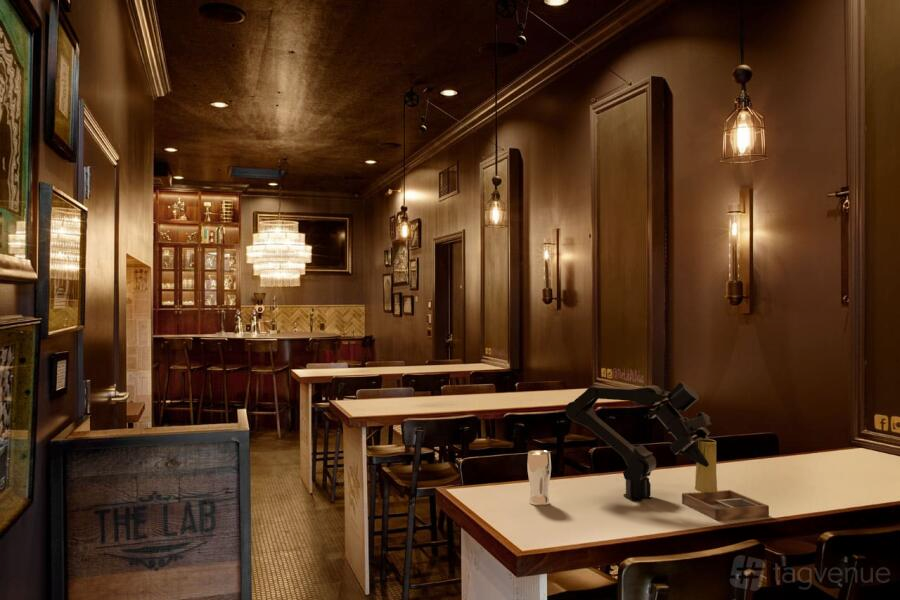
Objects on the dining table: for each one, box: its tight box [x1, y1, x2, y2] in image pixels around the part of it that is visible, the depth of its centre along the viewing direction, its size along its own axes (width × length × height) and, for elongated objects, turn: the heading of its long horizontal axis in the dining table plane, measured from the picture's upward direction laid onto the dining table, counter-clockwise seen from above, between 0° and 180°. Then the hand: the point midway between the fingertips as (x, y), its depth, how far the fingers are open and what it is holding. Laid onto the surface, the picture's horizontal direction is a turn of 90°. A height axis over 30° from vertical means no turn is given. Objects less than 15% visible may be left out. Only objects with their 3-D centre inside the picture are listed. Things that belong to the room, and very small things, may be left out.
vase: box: [694, 438, 718, 493], centre depth 194 cm, size 6×6×14 cm
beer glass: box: [526, 449, 552, 507], centre depth 201 cm, size 7×7×15 cm
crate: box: [681, 489, 770, 522], centre depth 192 cm, size 16×17×4 cm
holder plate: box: [715, 498, 760, 509], centre depth 189 cm, size 9×9×2 cm
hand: (711, 464), depth 193 cm, fingers closed on vase, 5 cm apart
